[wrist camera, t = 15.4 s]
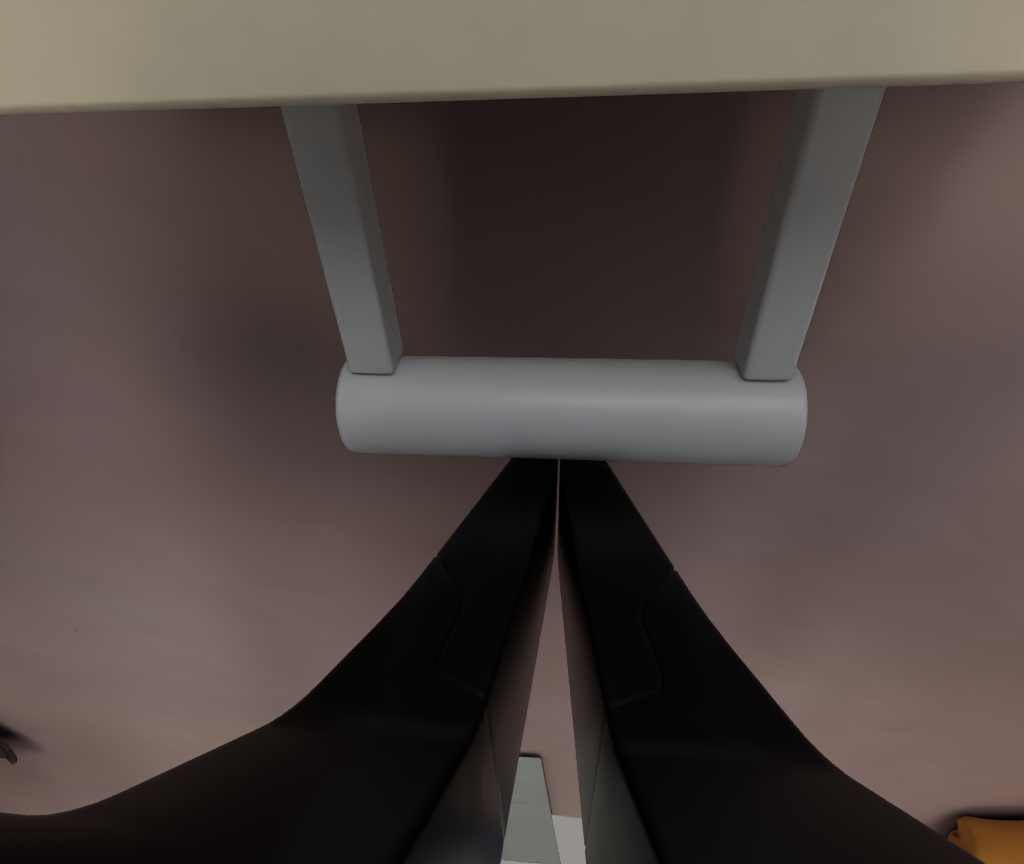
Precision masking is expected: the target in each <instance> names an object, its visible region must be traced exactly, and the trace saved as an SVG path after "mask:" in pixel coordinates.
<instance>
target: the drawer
mask: <svg viewBox="0 0 1024 864" xmlns="http://www.w3.org/2000/svg"><path fill="white" fill-rule="evenodd" d="M1016 82H1024V0H0V115H30V114H61V113H91V112H122V111H153V110H184V109H215V108H245V107H276V106H280V108H281V112H282V116H283V120H284V123H285V127H286V131H287V135H288V138H289V142H290V146H291V150H292V154H293V157H294V161H295V165H296V169H297V172H298V176H299V180H300V184H301V188H302V191H303V195H304V199H305V203H306V206H307V210H308V214H309V218H310V222H311V225H312V229H313V233H314V237H315V240H316V244H317V248H318V252H319V256H320V259H321V263H322V267H323V271H324V275H325V278H326V282H327V286H328V290H329V293H330V297H331V301H332V305H333V309H334V312H335V316H336V320H337V324H338V327H339V331H340V335H341V339H342V343H343V346H344V350H345V354H346V358H347V361H346V362H345V364H344V365H343V367H342V369H341V372H340V375H339V379H338V383H337V389H336V420H337V426H338V430H339V434H340V437H341V439H342V442H343V443H344V445H345V446H346V447H347V448H348V449H349V450H351V451H353V452H355V453H386V454H416V455H446V456H476V457H506V458H536V459H566V460H596V461H626V462H656V463H686V464H716V465H746V466H776V467H783V466H786V465H789V464H791V463H792V462H793V461H794V460H795V459H796V457H797V456H798V454H799V452H800V449H801V447H802V444H803V441H804V437H805V432H806V426H807V415H808V404H807V392H806V387H805V382H804V379H803V376H802V374H801V372H800V370H799V369H798V367H797V366H796V364H797V361H798V358H799V355H800V352H801V349H802V346H803V343H804V340H805V336H806V333H807V330H808V327H809V324H810V321H811V318H812V315H813V312H814V309H815V306H816V302H817V299H818V296H819V293H820V290H821V287H822V284H823V281H824V278H825V275H826V272H827V268H828V265H829V262H830V259H831V256H832V253H833V250H834V247H835V244H836V241H837V238H838V235H839V231H840V228H841V225H842V222H843V219H844V216H845V213H846V210H847V207H848V204H849V201H850V197H851V194H852V191H853V188H854V185H855V182H856V179H857V176H858V173H859V170H860V167H861V163H862V160H863V157H864V154H865V151H866V148H867V145H868V142H869V139H870V136H871V133H872V129H873V126H874V123H875V120H876V117H877V114H878V111H879V108H880V105H881V102H882V99H883V96H884V92H885V89H886V87H893V86H924V85H955V84H985V83H1016ZM770 90H797V94H796V98H795V102H794V106H793V111H792V115H791V119H790V123H789V127H788V132H787V136H786V140H785V144H784V148H783V152H782V157H781V161H780V165H779V169H778V173H777V178H776V182H775V186H774V190H773V194H772V199H771V203H770V207H769V211H768V215H767V219H766V224H765V228H764V232H763V236H762V240H761V245H760V249H759V253H758V257H757V261H756V265H755V270H754V274H753V278H752V282H751V286H750V291H749V295H748V299H747V303H746V307H745V312H744V316H743V320H742V324H741V328H740V332H739V337H738V341H737V345H736V349H735V353H734V356H735V359H736V361H723V360H656V359H589V358H522V357H455V356H401V355H402V353H403V347H402V342H401V336H400V331H399V326H398V320H397V315H396V310H395V305H394V299H393V294H392V289H391V283H390V278H389V273H388V268H387V262H386V257H385V252H384V246H383V241H382V236H381V231H380V225H379V220H378V215H377V209H376V204H375V199H374V194H373V188H372V183H371V178H370V172H369V167H368V162H367V157H366V151H365V146H364V141H363V135H362V130H361V125H360V120H359V114H358V109H357V104H369V103H400V102H430V101H461V100H492V99H523V98H554V97H585V96H615V95H646V94H677V93H708V92H739V91H770Z"/></svg>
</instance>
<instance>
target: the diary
mask: <svg viewBox="0 0 1024 864" xmlns="http://www.w3.org/2000/svg"><path fill="white" fill-rule="evenodd" d="M0 758H6V759H7V760H8V761H9V762H10V763H11V764H12V765H13V764H15V763H16V762H17V757H16V755H15V754H14V752H13V750H12V749H11V747H10V746H9V744H8V743H7V742H5V741H3V740H1V739H0Z"/></svg>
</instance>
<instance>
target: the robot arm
mask: <svg viewBox="0 0 1024 864" xmlns="http://www.w3.org/2000/svg"><path fill="white" fill-rule="evenodd" d="M557 480H558V459H536V458H511V459H510V461H509V462H508V463H507V465H506V466H505V467H504V468H503V470H502V471H501V472H500V474H499V475H498V476H497V478H496V479H495V480H494V481H493V483H492V484H491V485H490V487H489V488H488V489H487V490H486V492H485V493H484V494H483V496H482V497H481V498H480V500H479V501H478V502H477V503H476V505H475V506H474V507H473V509H472V510H471V511H470V512H469V514H468V515H467V516H466V518H465V519H464V520H463V521H462V523H461V524H460V525H459V527H458V528H457V529H456V531H455V532H454V533H453V534H452V536H451V537H450V538H449V540H448V541H447V542H446V543H445V545H444V546H443V547H442V549H441V550H440V551H439V552H438V554H437V557H435V558H434V559H433V560H432V561H431V562H430V564H429V565H428V566H427V568H426V569H425V570H424V572H423V573H422V574H421V575H420V577H419V578H418V579H417V580H416V581H415V583H414V584H413V585H412V586H411V587H410V589H409V590H408V591H407V592H406V594H405V595H404V596H403V597H402V598H401V599H400V600H399V602H398V603H397V604H396V605H395V606H394V607H393V608H392V609H391V610H390V611H389V612H388V613H387V614H386V615H385V616H384V617H383V619H382V620H381V621H380V622H379V623H378V624H377V625H376V626H375V627H374V628H373V629H372V630H371V631H370V632H369V633H368V634H367V635H366V636H365V637H364V638H363V639H362V640H361V641H360V642H359V643H358V644H357V645H356V646H355V647H354V648H353V649H352V650H351V651H350V652H349V653H348V654H347V655H346V656H345V657H344V658H343V659H342V660H341V661H340V662H339V663H338V664H337V665H336V666H335V668H334V669H333V670H332V671H331V672H330V673H329V674H328V675H327V676H326V677H325V678H324V679H323V680H322V681H321V682H320V683H319V684H318V685H317V686H316V687H315V688H314V689H313V690H312V691H311V692H310V693H309V694H307V695H306V696H305V697H304V698H303V699H302V700H301V701H299V702H298V703H297V704H296V705H295V706H293V707H292V708H291V709H289V710H288V711H287V712H285V713H284V714H283V715H281V716H280V717H278V718H276V719H275V720H273V721H272V722H270V723H268V724H266V725H264V726H262V727H260V728H258V729H256V730H254V731H252V732H250V733H248V734H245V735H243V736H241V737H239V738H237V739H235V740H233V741H230V742H228V743H226V744H224V745H222V746H220V747H218V748H215V749H213V750H211V751H209V752H207V753H205V754H203V755H200V756H198V757H196V758H194V759H192V760H190V761H187V762H185V763H183V764H181V765H179V766H177V767H175V768H172V769H170V770H168V771H166V772H164V773H162V774H160V775H157V776H155V777H153V778H151V779H149V780H147V781H145V782H142V783H140V784H138V785H136V786H134V787H132V788H130V789H127V790H125V791H123V792H121V793H119V794H116V795H114V796H111V797H109V798H107V799H104V800H102V801H99V802H97V803H94V804H91V805H88V806H84V807H81V808H77V809H74V810H71V811H66V812H60V813H55V814H49V815H19V814H10V813H1V812H0V864H500V863H501V857H502V851H503V846H504V837H505V834H506V828H507V822H508V817H509V811H510V805H511V800H512V794H513V788H514V783H515V777H516V771H517V765H518V760H519V754H520V748H521V743H522V737H523V731H524V726H525V720H526V714H527V709H528V703H529V697H530V691H531V686H532V680H533V674H534V669H535V663H536V657H537V652H538V646H539V640H540V635H541V629H542V623H543V617H544V612H545V606H546V600H547V595H548V589H549V583H550V578H551V572H552V566H553V559H554V548H555V529H556V504H557ZM558 568H559V579H560V589H561V600H562V611H563V621H564V632H565V642H566V653H567V664H568V674H569V685H570V695H571V706H572V717H573V727H574V738H575V748H576V759H577V770H578V780H579V791H580V801H581V812H582V822H583V833H584V844H585V846H586V849H585V855H586V864H986V863H984V862H983V861H981V860H979V859H978V858H976V857H975V856H973V855H972V854H970V853H968V852H967V851H965V850H964V849H962V848H961V847H959V846H957V845H956V844H954V843H953V842H951V841H950V840H948V839H946V838H945V837H943V836H942V835H940V834H939V833H937V832H935V831H934V830H932V829H931V828H929V827H928V826H926V825H924V824H923V823H921V822H920V821H918V820H917V819H915V818H913V817H912V816H910V815H909V814H907V813H906V812H904V811H902V810H901V809H899V808H898V807H896V806H895V805H893V804H891V803H890V802H888V801H887V800H885V799H884V798H882V797H880V796H879V795H877V794H876V793H874V792H873V791H871V790H869V789H868V788H866V787H865V786H863V785H862V784H860V783H858V782H857V781H855V780H854V779H852V778H851V777H850V776H848V775H847V774H845V773H844V772H843V771H841V770H840V769H839V768H838V767H836V766H835V765H834V764H833V763H832V762H830V761H829V760H828V759H827V758H826V757H825V756H824V755H823V754H822V753H820V752H819V751H818V750H817V749H816V748H815V747H814V746H813V744H812V743H811V742H810V741H809V740H808V739H807V738H806V737H805V736H804V735H803V734H802V733H801V731H800V730H799V729H798V728H797V727H796V726H795V724H794V723H793V722H792V721H791V719H790V718H789V717H788V716H787V715H786V713H785V712H784V711H783V710H782V709H781V707H780V706H779V705H778V704H777V702H776V701H775V700H774V699H773V698H772V696H771V695H770V694H769V693H768V692H767V690H766V689H765V688H764V687H763V685H762V684H761V683H760V682H759V681H758V679H757V678H756V677H755V676H754V675H753V673H752V672H751V671H750V670H749V668H748V667H747V666H746V665H745V664H744V662H743V661H742V660H741V659H740V658H739V656H738V655H737V654H736V653H735V651H734V650H733V649H732V648H731V646H730V645H729V644H728V643H727V641H726V640H725V639H724V638H723V636H722V635H721V634H720V632H719V631H718V630H717V629H716V627H715V626H714V625H713V623H712V622H711V621H710V620H709V618H708V617H707V616H706V614H705V613H704V611H703V610H702V608H701V607H700V605H699V604H698V602H697V601H696V600H695V598H694V597H693V595H692V594H691V592H690V591H689V589H688V588H687V586H686V585H685V583H684V581H683V580H682V578H681V577H680V575H679V574H678V572H677V571H675V570H674V566H673V565H672V563H671V562H670V560H669V558H668V557H667V555H666V554H665V552H664V551H663V549H662V548H661V546H660V544H659V543H658V541H657V540H656V538H655V537H654V535H653V533H652V532H651V530H650V529H649V527H648V526H647V524H646V523H645V521H644V519H643V518H642V516H641V515H640V513H639V512H638V510H637V508H636V507H635V505H634V504H633V502H632V501H631V499H630V498H629V496H628V494H627V493H626V491H625V490H624V488H623V487H622V485H621V484H620V482H619V480H618V479H617V477H616V476H615V474H614V473H613V471H612V469H611V468H610V466H609V465H608V463H607V462H606V461H596V460H566V459H560V481H559V518H558Z"/></svg>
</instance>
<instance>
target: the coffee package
mask: <svg viewBox="0 0 1024 864" xmlns="http://www.w3.org/2000/svg"><path fill="white" fill-rule="evenodd" d="M957 824H958V829H956V830H953V831H951V832H950V833H949V835H948V838H947V839H948V840H950V841H951V842H953V843H954V844H956V845H957V846H959V847H961V848H962V849H964V850H965V851H967V852H968V853H970V854H972V855H973V856H975V857H976V858H978V859H979V860H981V861H983V862H984V863H986V864H1024V820H1013V821H1010V820H992V819H982V818H976V817H970V816H964V817H960V818H959V819H957Z"/></svg>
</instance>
